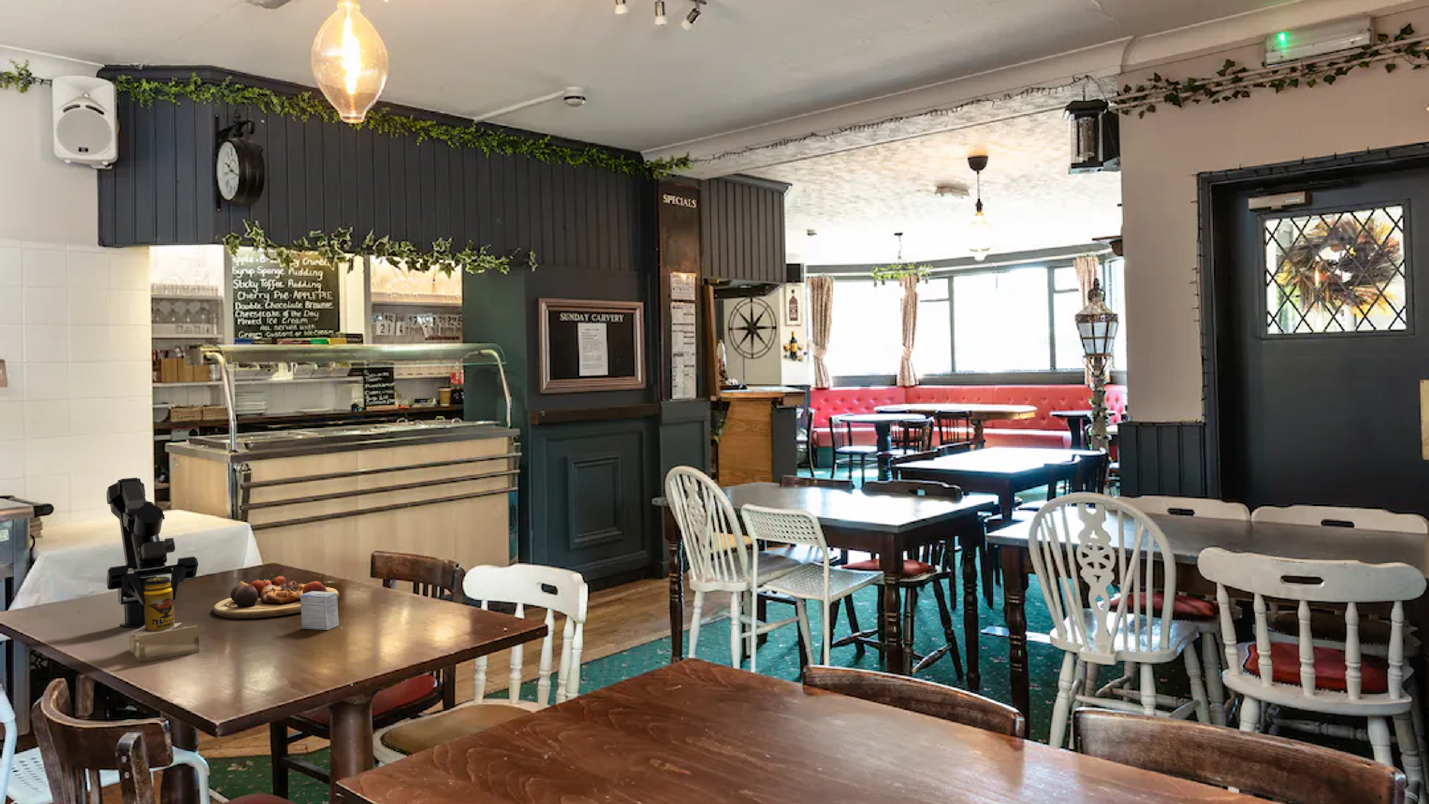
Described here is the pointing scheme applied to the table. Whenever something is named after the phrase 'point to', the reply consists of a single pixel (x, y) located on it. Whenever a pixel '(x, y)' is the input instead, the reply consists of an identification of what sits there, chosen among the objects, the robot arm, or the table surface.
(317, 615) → the medicine box
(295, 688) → the table surface
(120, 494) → the robot arm
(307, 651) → the table surface
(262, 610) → the wooden plate with food
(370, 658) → the table surface
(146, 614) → the condiment
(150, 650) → the drawer
